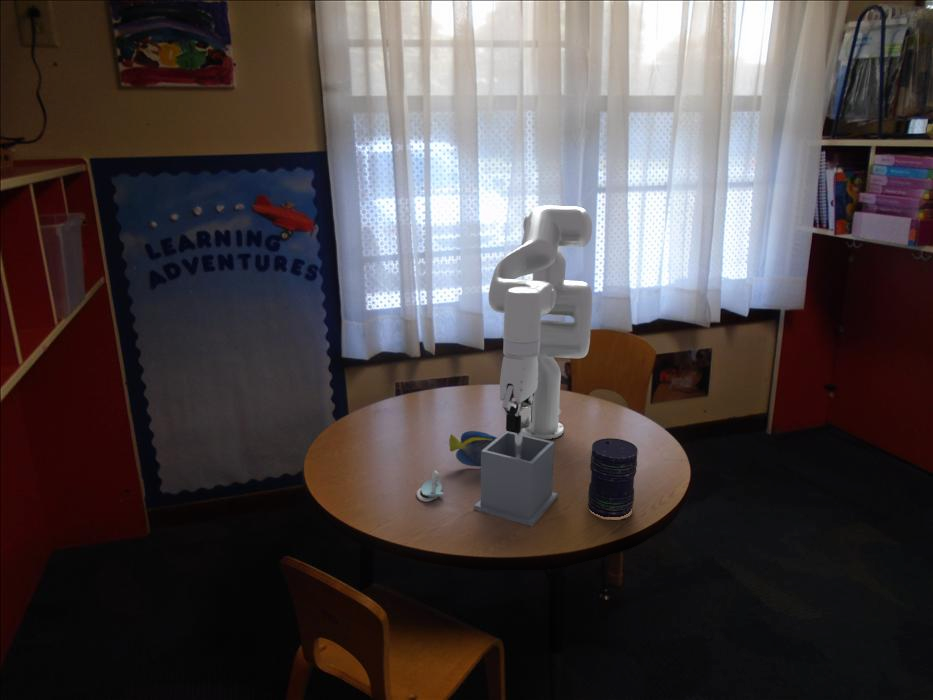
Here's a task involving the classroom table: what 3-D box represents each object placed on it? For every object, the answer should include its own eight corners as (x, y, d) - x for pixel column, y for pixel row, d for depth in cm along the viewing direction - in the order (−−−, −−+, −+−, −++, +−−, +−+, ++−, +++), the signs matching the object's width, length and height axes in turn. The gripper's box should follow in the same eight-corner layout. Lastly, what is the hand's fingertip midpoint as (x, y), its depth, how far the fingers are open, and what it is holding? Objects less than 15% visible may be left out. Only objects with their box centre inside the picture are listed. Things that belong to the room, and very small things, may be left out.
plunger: (507, 460, 158) (509, 395, 153) (545, 469, 154) (548, 403, 149) (488, 477, 150) (490, 409, 145) (528, 487, 146) (530, 418, 141)
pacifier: (418, 505, 154) (444, 502, 154) (416, 480, 152) (443, 477, 152) (415, 489, 160) (440, 486, 161) (414, 465, 159) (439, 462, 159)
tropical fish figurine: (512, 466, 171) (513, 429, 168) (512, 472, 168) (513, 434, 165) (449, 463, 172) (449, 427, 169) (448, 469, 169) (448, 432, 166)
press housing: (502, 482, 163) (503, 428, 159) (557, 497, 157) (560, 441, 153) (474, 509, 152) (474, 451, 147) (532, 526, 145) (534, 466, 141)
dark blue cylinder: (641, 516, 149) (647, 454, 145) (602, 524, 146) (607, 461, 141) (616, 494, 158) (621, 435, 154) (579, 502, 155) (582, 441, 150)
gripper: (522, 334, 152) (519, 410, 157) (486, 354, 138) (485, 437, 143) (554, 339, 148) (550, 417, 154) (520, 360, 134) (517, 445, 140)
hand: (519, 426), depth 148 cm, fingers closed on plunger, 5 cm apart
